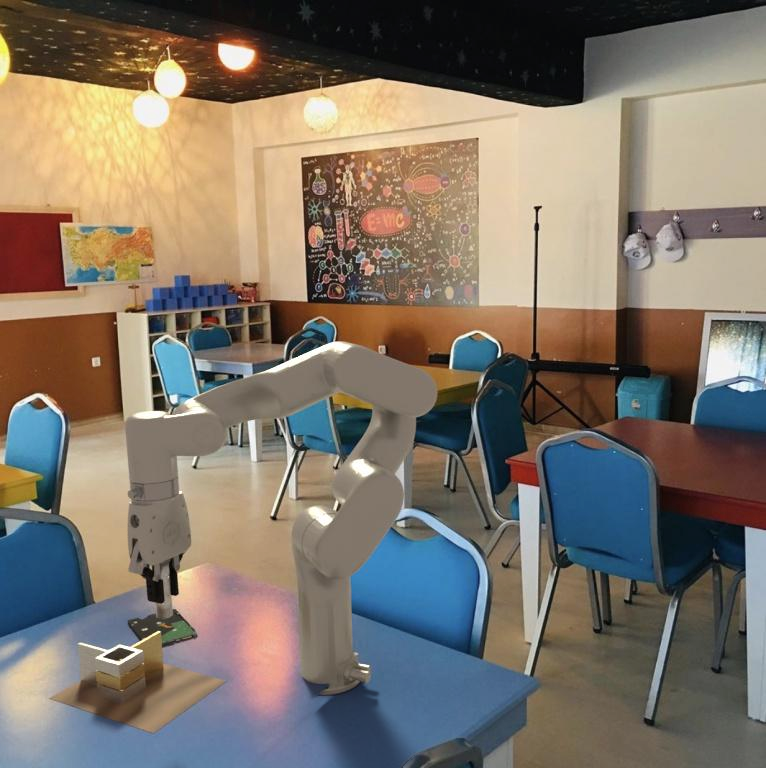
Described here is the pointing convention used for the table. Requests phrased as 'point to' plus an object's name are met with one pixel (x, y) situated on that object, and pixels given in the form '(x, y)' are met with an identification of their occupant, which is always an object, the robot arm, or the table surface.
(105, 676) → the hinge
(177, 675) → the walnut board
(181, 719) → the table surface
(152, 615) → the disk drive
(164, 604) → the hinge pin
